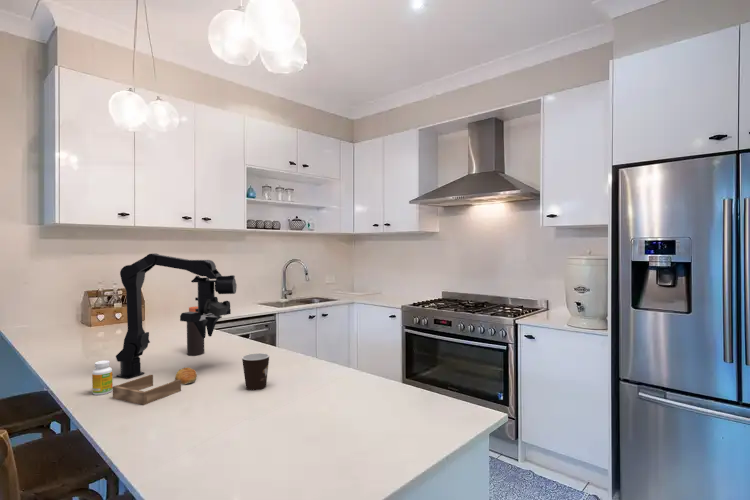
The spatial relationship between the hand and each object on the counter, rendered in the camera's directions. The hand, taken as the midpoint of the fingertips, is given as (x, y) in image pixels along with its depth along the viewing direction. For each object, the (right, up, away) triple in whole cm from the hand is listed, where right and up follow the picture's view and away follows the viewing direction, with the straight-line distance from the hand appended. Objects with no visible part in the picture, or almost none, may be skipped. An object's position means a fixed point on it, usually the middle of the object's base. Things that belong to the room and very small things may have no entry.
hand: (206, 337), depth 153 cm
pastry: (-4, -14, -8) cm, 16 cm away
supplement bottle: (-25, -14, -19) cm, 35 cm away
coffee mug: (+23, -13, -14) cm, 30 cm away
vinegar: (-15, -13, +27) cm, 33 cm away
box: (-10, -13, -21) cm, 27 cm away
